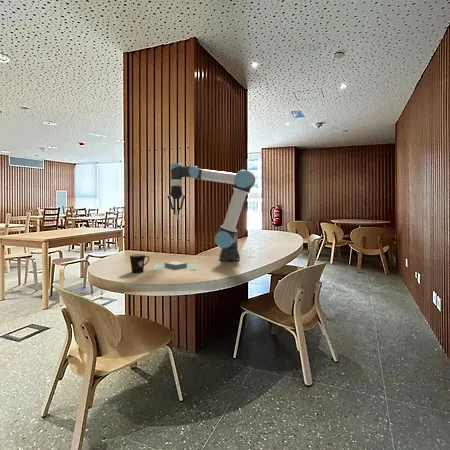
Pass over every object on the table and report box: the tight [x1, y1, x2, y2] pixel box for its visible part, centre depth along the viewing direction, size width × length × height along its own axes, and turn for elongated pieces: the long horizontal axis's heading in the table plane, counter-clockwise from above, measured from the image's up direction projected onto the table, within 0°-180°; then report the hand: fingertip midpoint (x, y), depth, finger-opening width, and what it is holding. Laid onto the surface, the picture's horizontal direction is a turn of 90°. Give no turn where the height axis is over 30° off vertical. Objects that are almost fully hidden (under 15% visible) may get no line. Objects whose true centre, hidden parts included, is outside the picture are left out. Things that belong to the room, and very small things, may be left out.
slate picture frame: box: [164, 260, 188, 269], centre depth 195 cm, size 3×9×11 cm
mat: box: [152, 263, 197, 271], centre depth 197 cm, size 26×18×1 cm
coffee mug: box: [129, 253, 150, 274], centre depth 184 cm, size 12×9×10 cm
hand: (176, 219), depth 221 cm, fingers closed
